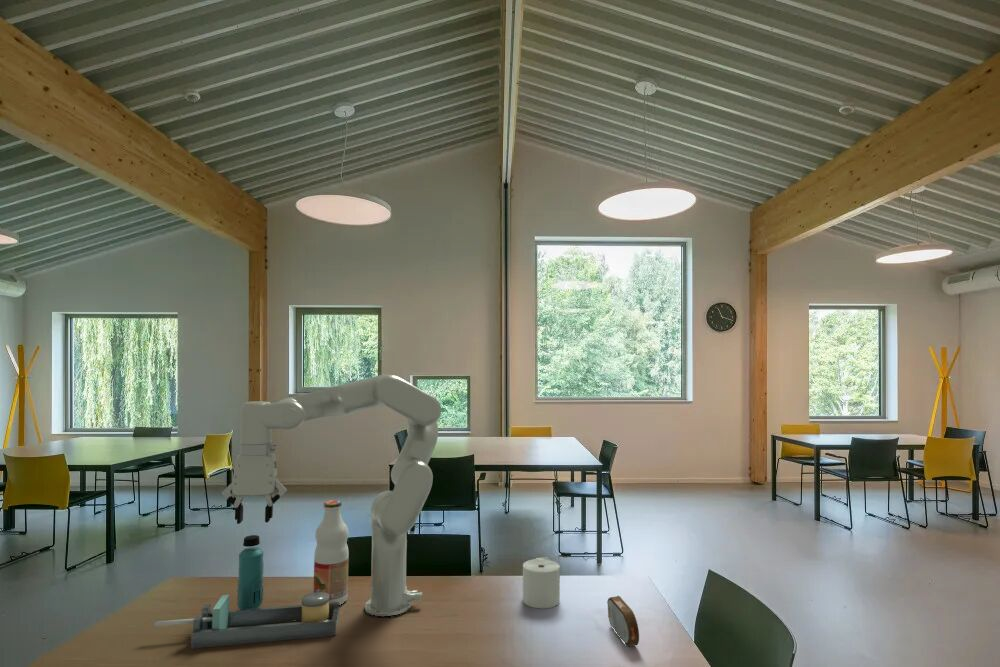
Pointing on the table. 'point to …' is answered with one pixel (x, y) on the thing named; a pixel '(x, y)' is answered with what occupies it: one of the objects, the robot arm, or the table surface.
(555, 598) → the toilet tissue
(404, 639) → the table surface
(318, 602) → the jar
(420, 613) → the table surface
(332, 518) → the fruit juice
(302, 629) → the lane
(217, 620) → the pusher
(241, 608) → the beverage bottle
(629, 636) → the tin
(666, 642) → the table surface
